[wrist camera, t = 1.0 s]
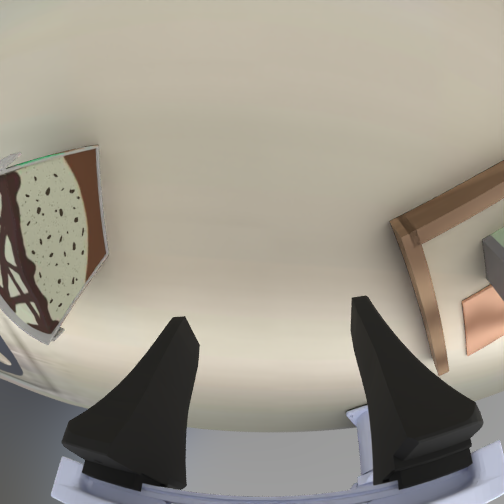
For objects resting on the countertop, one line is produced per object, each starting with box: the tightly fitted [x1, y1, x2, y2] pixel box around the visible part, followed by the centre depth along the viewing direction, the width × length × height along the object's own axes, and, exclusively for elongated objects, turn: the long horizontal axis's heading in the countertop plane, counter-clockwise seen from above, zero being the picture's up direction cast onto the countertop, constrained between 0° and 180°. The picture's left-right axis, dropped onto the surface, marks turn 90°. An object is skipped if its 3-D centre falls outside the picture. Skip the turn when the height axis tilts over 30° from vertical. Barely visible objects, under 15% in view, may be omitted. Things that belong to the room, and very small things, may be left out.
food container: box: [0, 145, 109, 345], centre depth 17 cm, size 12×6×10 cm, turn 174°
